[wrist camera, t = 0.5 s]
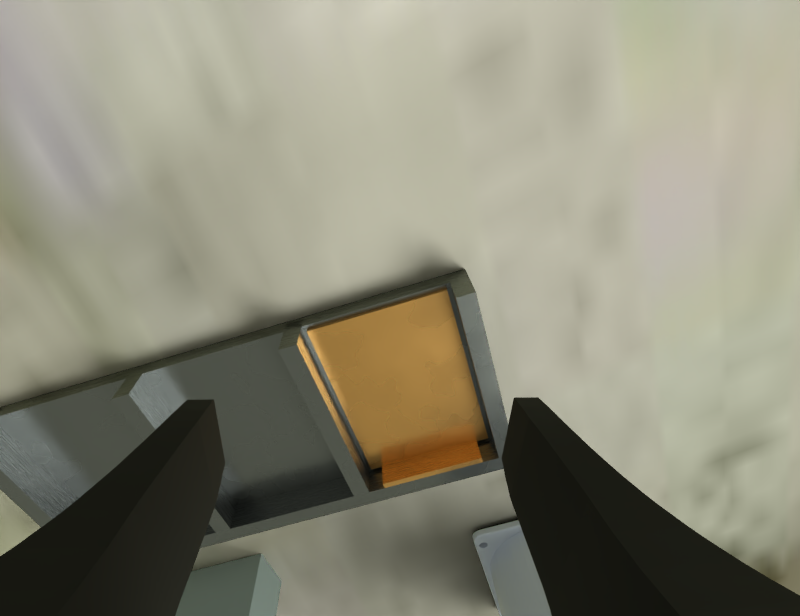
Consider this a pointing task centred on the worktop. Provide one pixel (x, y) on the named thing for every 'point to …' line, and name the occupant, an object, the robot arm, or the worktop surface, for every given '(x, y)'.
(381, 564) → the worktop surface
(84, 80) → the worktop surface
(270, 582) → the pale blue block
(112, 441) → the tray
